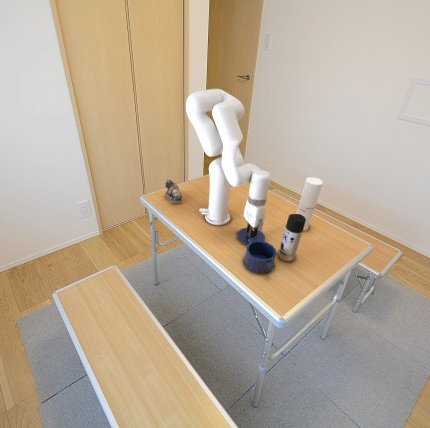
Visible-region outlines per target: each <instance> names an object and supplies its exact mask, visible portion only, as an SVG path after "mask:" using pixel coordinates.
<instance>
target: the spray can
mask: <svg viewBox="0 0 430 428" xmlns="http://www.w3.org/2000/svg"><path fill="white" fill-rule="evenodd" d="M305 222H306V219H305V217H304V216H302V215H300V214H296V213H290V214H289V215H288V217H287V221H286V223H285V228H284V232H283V235H282V239H281V243H280V246H279V250H278V257H279V258H280V259H281V261H284V262H292V261H294V259H295V257H296V254H297V251H298V247H299V244H300V241H301V239H302V235H303V232H304V231H303V229H304V225H305Z"/></svg>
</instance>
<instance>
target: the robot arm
mask: <svg viewBox="0 0 430 428" xmlns="http://www.w3.org/2000/svg"><path fill="white" fill-rule="evenodd" d="M185 111H186V115H187V118H188V120H189V121H190V123H191V125H192V126H193V128H194V130H195V132H196V135H197V138H198V140H199V142H200V145H201V147H202V149H203V151H204V153H205V155H206V156H208V157H210V158H213V157H216V156H220V157H217V158H215V159H214V160H212V161H211V162H210V164H209V166H208V173H209V196H208V197H209V198H208V207H206V208H203V207H199V213H200V214H201V215H203V216H204V219H205V221H206V222H208V223H209V224H211V225H215V226H223V225H226V224H228V223H229V222H230V220H231V215H230V213H229V206H230V196H231V187H233V188H240V187H242V186H245V185H247V184H249V189H248V196H247V200H246V202H245V205H244V210H243V218H244V219H245V220H246V225H247V226H246V228H247V231H246V232H247V233H249V228H250V225H251V226H252V230H251V233H250V237H255V236H257V232H258V231H261V232H262V231H263V226H264V223H265V217H266V204H267V200H268V194H269V190H270V184H271V179H272V178H271V177H272V176H271V173H270V172H269V171H267V170H264V169H261V168H260V167H259V166H258V165H256V164H254V163H251V162H248V163H245V161H244V157H243V154H242V152H241V150H240V147H239V146H240V144H241V143H242V141H243V139H244V135H243V132H242V129H241V127H240V125H239V122H238V121H240V120H242V119H243V117H244V116H245V107H244V104H243V103H242V102H241V100H239V99H238V98H236V97H235V96H233V95H231V94H230V93H228V92H226V91H225V90H223V89H221V88H209V89H203V90H197V91H195V92H192V93H190V94H189V95H188V97H187V98H186V103H185ZM207 112H211V115H212V118H213V120H214V121H213V120H212V119H211V118H210V116H209V115H208V114H207ZM255 227H256V228H255Z"/></svg>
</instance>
